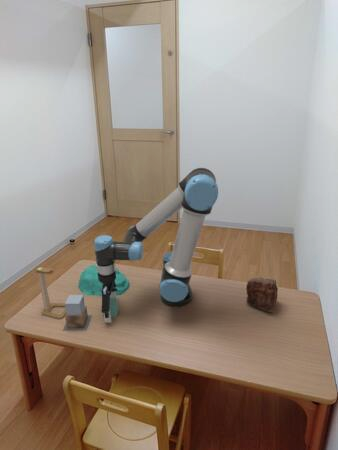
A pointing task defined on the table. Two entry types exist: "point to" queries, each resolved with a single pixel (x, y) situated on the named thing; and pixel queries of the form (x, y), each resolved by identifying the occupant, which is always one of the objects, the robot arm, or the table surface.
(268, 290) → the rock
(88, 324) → the coaster
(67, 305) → the gray block
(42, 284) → the headphone stand
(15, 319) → the table surface
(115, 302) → the teal block
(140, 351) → the table surface
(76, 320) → the base block
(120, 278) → the decorative stone
